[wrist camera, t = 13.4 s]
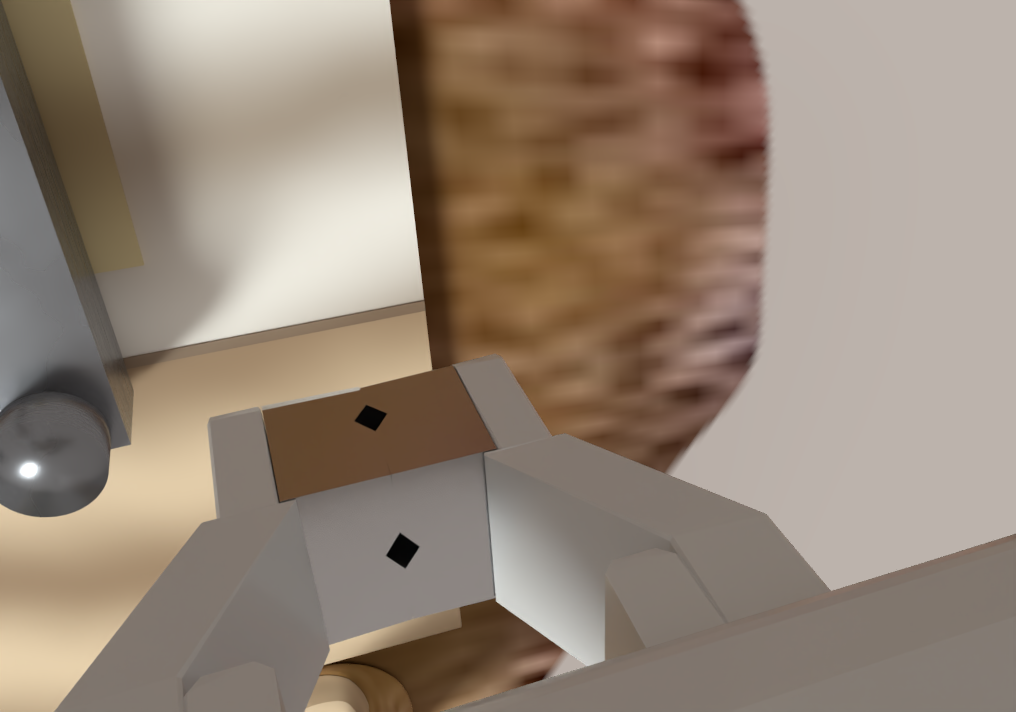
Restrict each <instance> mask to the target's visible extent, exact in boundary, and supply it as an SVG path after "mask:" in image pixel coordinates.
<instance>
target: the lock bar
mask: <svg viewBox="0 0 1016 712" xmlns="http://www.w3.org/2000/svg"><path fill="white" fill-rule="evenodd" d="M133 397H134V389H133V386H132V383H131V380H130V377H129V375H128V372H127V369H126V366H125V363H124V360H123V357H122V354H121V351H120V348H119V345H118V342H117V339H116V336H115V333H114V330H113V327H112V325H111V322H110V319H109V316H108V313H107V310H106V307H105V304H104V301H103V298H102V295H101V292H100V289H99V286H98V283H97V280H96V277H95V275H94V272H93V269H92V266H91V263H90V260H89V257H88V254H87V251H86V248H85V245H84V242H83V239H82V236H81V233H80V230H79V227H78V225H77V222H76V219H75V216H74V213H73V210H72V207H71V204H70V201H69V198H68V195H67V192H66V189H65V186H64V183H63V180H62V178H61V175H60V172H59V169H58V166H57V163H56V160H55V157H54V154H53V151H52V148H51V145H50V142H49V139H48V136H47V133H46V130H45V128H44V125H43V122H42V119H41V116H40V113H39V110H38V107H37V104H36V101H35V98H34V95H33V92H32V89H31V86H30V83H29V80H28V78H27V75H26V72H25V69H24V66H23V63H22V60H21V57H20V54H19V51H18V48H17V45H16V42H15V39H14V36H13V33H12V31H11V28H10V25H9V22H8V19H7V16H6V13H5V10H4V7H3V4H2V1H1V0H0V504H1V505H3V506H4V507H6V508H8V509H10V510H12V511H14V512H17V513H20V514H23V515H28V516H33V517H57V516H63V515H67V514H70V513H73V512H76V511H78V510H80V509H82V508H84V507H86V506H87V505H89V504H90V503H91V502H93V501H94V500H95V499H96V498H97V497H98V496H99V495H100V493H101V492H102V490H103V489H104V487H105V485H106V483H107V479H108V475H109V463H110V451H111V449H115V448H119V447H123V446H128V445H131V436H132V417H133Z"/></svg>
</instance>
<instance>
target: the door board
mask: <svg viewBox="0 0 1016 712" xmlns="http://www.w3.org/2000/svg"><path fill="white" fill-rule="evenodd" d="M1 1H2V4H3V7H4V10H5V13H6V16H7V19H8V22H9V25H10V28H11V31H12V33H13V36H14V39H15V42H16V45H17V48H18V51H19V54H20V57H21V60H22V63H23V66H24V69H25V72H26V75H27V78H28V80H29V83H30V86H31V89H32V92H33V95H34V98H35V101H36V104H37V107H38V110H39V113H40V116H41V119H42V122H43V125H44V128H45V130H46V133H47V136H48V139H49V142H50V145H51V148H52V151H53V154H54V157H55V160H56V163H57V166H58V169H59V172H60V175H61V178H62V180H63V183H64V186H65V189H66V192H67V195H68V198H69V201H70V204H71V207H72V210H73V213H74V216H75V219H76V222H77V225H78V227H79V230H80V233H81V236H82V239H83V242H84V245H85V248H86V251H87V254H88V257H89V260H90V263H91V266H92V269H93V272H94V275H95V277H96V280H97V283H98V286H99V289H100V292H101V295H102V298H103V301H104V304H105V307H106V310H107V313H108V316H109V319H110V322H111V325H112V327H113V330H114V333H115V336H116V339H117V342H118V345H119V348H120V351H121V354H122V357H123V360H124V363H125V366H126V369H127V372H128V375H129V377H130V380H131V383H132V386H133V389H134V397H133V417H132V436H131V445H128V446H123V447H119V448H115V449H111V451H110V463H109V475H108V479H107V483H106V485H105V487H104V489H103V490H102V492H101V493H100V495H99V496H98V497H97V498H96V499H95V500H94V501H93V502H91V503H90V504H89V505H87V506H86V507H84V508H82V509H80V510H78V511H76V512H73V513H70V514H67V515H63V516H57V517H33V516H28V515H23V514H20V513H17V512H14V511H12V510H10V509H8V508H6V507H4V506H3V505H1V504H0V712H54V711H55V710H56V709H57V707H58V706H59V705H60V703H61V702H62V701H63V700H64V698H65V697H66V696H67V695H68V693H69V692H70V691H71V689H72V688H73V687H74V686H75V684H76V683H77V682H78V680H79V679H80V678H81V677H82V675H83V674H84V673H85V671H86V670H87V669H88V668H89V666H90V665H91V664H92V662H93V661H94V660H95V659H96V657H97V656H98V655H99V654H100V652H101V651H102V650H103V648H104V647H105V646H106V645H107V643H108V642H109V641H110V639H111V638H112V637H113V636H114V634H115V633H116V632H117V630H118V629H119V628H120V627H121V625H122V624H123V623H124V621H125V620H126V619H127V618H128V616H129V615H130V614H131V613H132V611H133V610H134V609H135V607H136V606H137V605H138V604H139V602H140V601H141V600H142V598H143V597H144V596H145V595H146V593H147V592H148V591H149V589H150V588H151V587H152V586H153V584H154V583H155V582H156V580H157V579H158V578H159V577H160V575H161V574H162V573H163V572H164V570H165V569H166V568H167V566H168V565H169V564H170V563H171V561H172V560H173V559H174V557H175V556H176V555H177V554H178V552H179V551H180V550H181V548H182V547H183V546H184V545H185V543H186V542H187V541H188V539H189V538H190V537H191V536H192V534H193V533H194V532H195V530H196V529H197V528H198V527H199V525H200V524H201V523H202V522H206V521H210V520H214V519H217V517H216V507H215V497H214V487H213V477H212V467H211V458H210V448H209V438H208V428H207V424H208V421H209V418H210V417H214V416H219V415H223V414H227V413H232V412H236V411H240V410H245V409H249V408H253V407H259V408H260V409H261V412H262V406H265V405H270V404H275V403H280V402H285V401H290V400H295V399H300V398H305V397H310V396H315V395H320V394H325V393H330V392H335V391H340V390H345V389H350V388H355V387H359V388H362V387H366V386H370V385H374V384H378V383H382V382H386V381H390V380H394V379H398V378H403V377H407V376H411V375H415V374H419V373H423V372H427V371H431V370H432V365H431V356H430V348H429V339H428V330H427V322H426V313H425V302H424V296H423V287H422V278H421V270H420V261H419V253H418V244H417V235H416V227H415V218H414V209H413V201H412V192H411V183H410V175H409V166H408V158H407V149H406V140H405V132H404V123H403V114H402V106H401V97H400V89H399V80H398V71H397V63H396V54H395V45H394V37H393V28H392V19H391V11H390V2H389V0H1ZM262 415H263V412H262ZM263 419H264V418H263ZM460 627H462V624H461V615H460V607H458V608H454V609H450V610H446V611H443V612H439V613H435V614H431V615H427V616H423V617H419V618H415V619H411V620H408V621H405V622H402V623H399V624H395V625H392V626H389V627H386V628H383V629H379V630H376V631H373V632H370V633H366V634H363V635H360V636H357V637H354V638H350V639H347V640H344V641H341V642H338V643H334V644H331V645H329V648H330V651H329V654H328V656H327V658H326V661H325V663H324V665H326V664H329V663H333V662H337V661H340V660H344V659H347V658H351V657H355V656H358V655H362V654H366V653H369V652H373V651H377V650H380V649H384V648H388V647H391V646H395V645H398V644H402V643H406V642H409V641H413V640H417V639H420V638H424V637H428V636H431V635H435V634H438V633H442V632H446V631H449V630H453V629H457V628H460Z"/></svg>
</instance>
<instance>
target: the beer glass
mask: <svg viewBox="0 0 1016 712" xmlns="http://www.w3.org/2000/svg"><path fill="white" fill-rule="evenodd" d="M305 712H413V709H412V704H411V701H410V698H409V696H408V694H407V692H406V690H405V689H404V687H403V686H402V685H401V683H400V682H399V681H398V680H396V679H395V678H394V677H393V676H391V675H390V674H388V673H386V672H384V671H382V670H379V669H377V668H373V667H370V666H365V665H359V664H330V665H324V666H323V668H322V671H321V673H320V675H319V678H318V680H317V683H316V685H315V687H314V690H313V692H312V695H311V697H310V700H309V702H308V704H307V707H306V709H305Z"/></svg>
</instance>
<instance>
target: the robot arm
mask: <svg viewBox="0 0 1016 712" xmlns="http://www.w3.org/2000/svg"><path fill="white" fill-rule="evenodd" d="M262 412H263V415H262ZM262 412H261V409H260V408H259V407H253V408H249V409H245V410H240V411H236V412H232V413H227V414H223V415H219V416H214V417H210V418H209V421H208V424H207V428H208V438H209V448H210V458H211V467H212V477H213V487H214V497H215V507H216V517H217V519H214V520H210V521H206V522H202V523H201V524H200V525H199V527H198V528H197V529H196V530H195V532H194V533H193V534H192V536H191V537H190V538H189V539H188V541H187V542H186V543H185V545H184V546H183V547H182V548H181V550H180V551H179V552H178V554H177V555H176V556H175V557H174V559H173V560H172V561H171V563H170V564H169V565H168V566H167V568H166V569H165V570H164V572H163V573H162V574H161V575H160V577H159V578H158V579H157V580H156V582H155V583H154V584H153V586H152V587H151V588H150V589H149V591H148V592H147V593H146V595H145V596H144V597H143V598H142V600H141V601H140V602H139V604H138V605H137V606H136V607H135V609H134V610H133V611H132V613H131V614H130V615H129V616H128V618H127V619H126V620H125V621H124V623H123V624H122V625H121V627H120V628H119V629H118V630H117V632H116V633H115V634H114V636H113V637H112V638H111V639H110V641H109V642H108V643H107V645H106V646H105V647H104V648H103V650H102V651H101V652H100V654H99V655H98V656H97V657H96V659H95V660H94V661H93V662H92V664H91V665H90V666H89V668H88V669H87V670H86V671H85V673H84V674H83V675H82V677H81V678H80V679H79V680H78V682H77V683H76V684H75V686H74V687H73V688H72V689H71V691H70V692H69V693H68V695H67V696H66V697H65V698H64V700H63V701H62V702H61V703H60V705H59V706H58V707H57V709H56V710H55V711H54V712H305V709H306V707H307V704H308V702H309V700H310V697H311V695H312V692H313V690H314V687H315V685H316V683H317V680H318V678H319V675H320V673H321V671H322V668H323V666H324V663H325V661H326V658H327V656H328V654H329V651H330V648H329V645H331V644H334V643H338V642H341V641H344V640H347V639H350V638H354V637H357V636H360V635H363V634H366V633H370V632H373V631H376V630H379V629H383V628H386V627H389V626H392V625H395V624H399V623H402V622H405V621H408V620H411V619H415V618H419V617H423V616H427V615H431V614H435V613H439V612H443V611H446V610H450V609H454V608H458V607H462V606H466V605H470V604H474V603H478V602H482V601H486V600H490V599H493V598H496V602H497V603H499V604H500V605H502V606H503V607H505V608H506V609H507V610H509V611H510V612H512V613H513V614H514V615H516V616H517V617H519V618H520V619H521V620H523V621H524V622H526V623H527V624H528V625H530V626H531V627H533V628H534V629H535V630H537V631H538V632H540V633H541V634H543V635H544V636H545V637H547V638H548V639H550V640H551V641H552V642H554V643H555V644H557V645H558V646H559V647H561V648H562V649H564V650H565V651H566V652H568V653H569V654H571V655H572V656H574V657H575V658H576V659H578V660H579V661H581V662H582V663H583V664H585V665H586V667H583V668H580V669H577V670H573V671H570V672H567V673H564V674H560V675H557V676H554V677H551V678H548V679H544V680H541V681H538V682H535V683H531V684H528V685H525V686H522V687H519V688H515V689H512V690H509V691H506V692H502V693H499V694H496V695H493V696H490V697H486V698H483V699H480V700H477V701H473V702H470V703H467V704H464V705H461V706H457V707H454V708H451V709H448V710H444V711H441V712H1016V534H1013V535H1010V536H1007V537H1004V538H1001V539H998V540H994V541H991V542H988V543H985V544H981V545H978V546H975V547H972V548H969V549H966V550H962V551H959V552H956V553H953V554H950V555H947V556H943V557H940V558H937V559H934V560H931V561H927V562H924V563H921V564H918V565H914V566H911V567H908V568H905V569H902V570H898V571H895V572H892V573H888V574H885V575H882V576H879V577H876V578H872V579H869V580H866V581H862V582H859V583H856V584H853V585H850V586H846V587H843V588H840V589H837V590H833V591H831V590H830V589H829V588H828V587H827V586H826V584H825V583H824V582H823V581H822V580H821V579H820V577H819V576H818V575H817V574H816V573H815V571H814V570H813V569H812V568H811V567H810V565H809V564H808V563H807V562H806V561H805V560H804V558H803V557H802V556H801V555H800V554H799V552H798V551H797V550H796V549H795V548H794V546H793V545H792V544H791V543H790V542H789V540H788V539H787V538H786V537H785V536H784V535H783V533H782V532H781V531H780V530H779V529H778V527H777V526H776V525H775V524H774V523H773V521H772V520H771V519H770V518H769V517H768V516H767V514H765V513H762V512H760V511H757V510H755V509H752V508H750V507H747V506H744V505H742V504H740V503H737V502H735V501H732V500H730V499H727V498H725V497H722V496H720V495H717V494H715V493H712V492H710V491H707V490H705V489H702V488H700V487H697V486H695V485H692V484H690V483H687V482H685V481H682V480H680V479H677V478H675V477H672V476H670V475H667V474H665V473H662V472H660V471H657V470H655V469H652V468H650V467H647V466H645V465H642V464H640V463H637V462H635V461H632V460H630V459H627V458H625V457H622V456H620V455H617V454H615V453H612V452H610V451H608V450H605V449H603V448H600V447H598V446H595V445H593V444H590V443H588V442H585V441H583V440H580V439H578V438H575V437H573V436H570V435H568V434H560V435H556V436H551V434H550V433H549V431H548V429H547V428H546V426H545V425H544V423H543V421H542V420H541V418H540V417H539V415H538V413H537V412H536V410H535V409H534V407H533V406H532V404H531V402H530V401H529V399H528V398H527V396H526V394H525V393H524V391H523V390H522V388H521V387H520V385H519V383H518V382H517V380H516V379H515V377H514V375H513V374H512V372H511V371H510V369H509V367H508V366H507V364H506V363H505V361H504V360H503V358H502V357H501V356H499V355H497V354H492V355H488V356H484V357H480V358H477V359H473V360H469V361H465V362H461V363H457V364H453V365H451V366H447V367H443V368H439V369H435V370H431V371H427V372H423V373H419V374H415V375H411V376H407V377H403V378H398V379H394V380H390V381H386V382H382V383H378V384H374V385H370V386H366V387H362V388H359V387H355V388H350V389H345V390H340V391H335V392H330V393H325V394H320V395H315V396H310V397H305V398H300V399H295V400H290V401H285V402H280V403H275V404H270V405H265V406H262ZM263 418H264V419H263Z"/></svg>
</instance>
